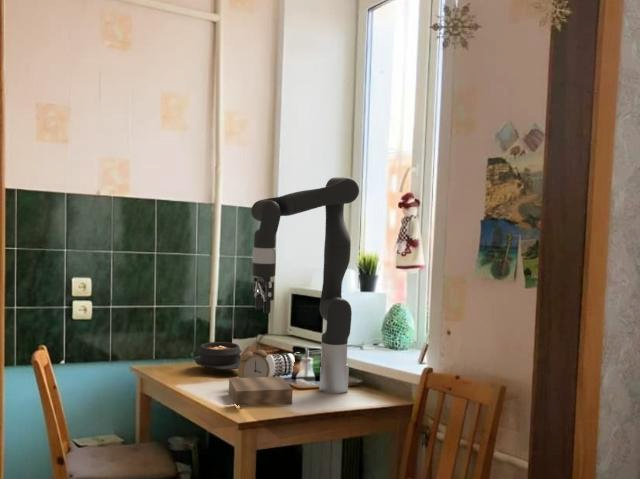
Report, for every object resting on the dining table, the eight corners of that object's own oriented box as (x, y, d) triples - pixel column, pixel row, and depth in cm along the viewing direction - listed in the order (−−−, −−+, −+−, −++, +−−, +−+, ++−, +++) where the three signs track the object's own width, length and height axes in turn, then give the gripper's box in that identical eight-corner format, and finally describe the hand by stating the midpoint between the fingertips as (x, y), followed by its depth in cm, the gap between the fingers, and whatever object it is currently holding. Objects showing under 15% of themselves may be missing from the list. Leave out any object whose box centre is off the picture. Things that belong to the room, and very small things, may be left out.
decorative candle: (263, 357, 259) (322, 352, 270) (267, 381, 255) (327, 375, 267) (271, 349, 252) (331, 345, 263) (275, 374, 248) (336, 368, 259)
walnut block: (280, 393, 234) (281, 376, 233) (291, 407, 218) (292, 389, 218) (228, 395, 229) (229, 378, 228) (236, 410, 213) (236, 391, 213)
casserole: (257, 370, 264) (257, 348, 263) (215, 376, 252) (216, 354, 251) (222, 357, 283) (223, 337, 282) (182, 363, 271) (183, 342, 270)
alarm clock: (242, 389, 235) (243, 347, 234) (235, 386, 239) (236, 344, 238) (270, 385, 242) (271, 344, 241) (262, 382, 246) (264, 341, 245)
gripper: (282, 263, 216) (280, 314, 217) (268, 259, 229) (266, 307, 230) (260, 263, 213) (258, 315, 214) (246, 259, 226) (245, 308, 227)
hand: (262, 311), depth 222 cm, fingers open, 8 cm apart
